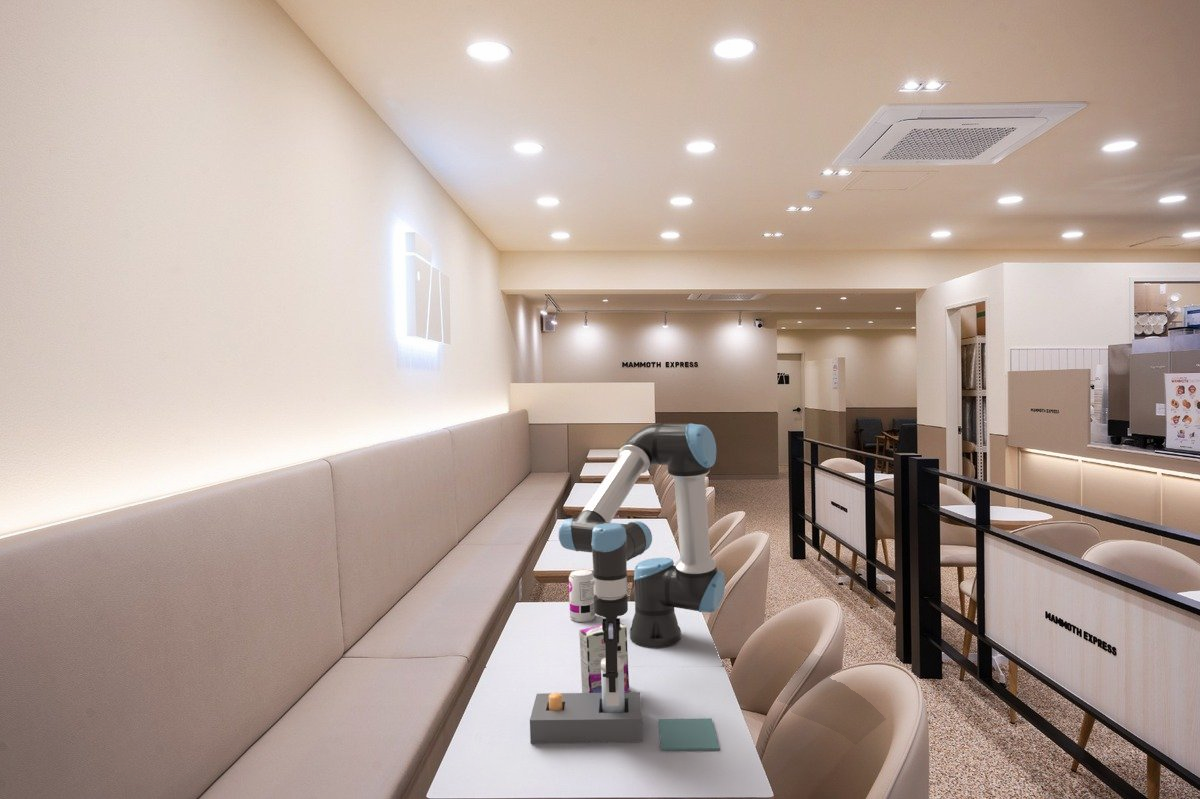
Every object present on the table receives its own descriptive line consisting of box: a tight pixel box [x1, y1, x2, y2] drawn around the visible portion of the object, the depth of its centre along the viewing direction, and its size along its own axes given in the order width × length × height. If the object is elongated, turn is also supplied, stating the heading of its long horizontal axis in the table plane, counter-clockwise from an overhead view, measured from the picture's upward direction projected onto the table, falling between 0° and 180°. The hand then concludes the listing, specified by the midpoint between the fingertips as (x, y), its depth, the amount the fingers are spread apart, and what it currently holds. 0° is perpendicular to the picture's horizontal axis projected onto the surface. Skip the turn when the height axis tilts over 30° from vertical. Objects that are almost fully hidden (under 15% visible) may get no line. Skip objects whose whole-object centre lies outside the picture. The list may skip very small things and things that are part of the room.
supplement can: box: [568, 568, 596, 623], centre depth 217 cm, size 8×8×15 cm
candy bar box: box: [578, 622, 630, 693], centre depth 166 cm, size 11×5×16 cm, turn 117°
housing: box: [529, 691, 643, 744], centre depth 150 cm, size 24×12×5 cm, turn 88°
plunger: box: [549, 692, 563, 711], centre depth 150 cm, size 3×3×6 cm
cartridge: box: [601, 657, 625, 713], centre depth 150 cm, size 5×5×15 cm
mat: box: [657, 717, 720, 752], centre depth 146 cm, size 12×12×1 cm
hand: (613, 692), depth 150 cm, fingers open, 11 cm apart
